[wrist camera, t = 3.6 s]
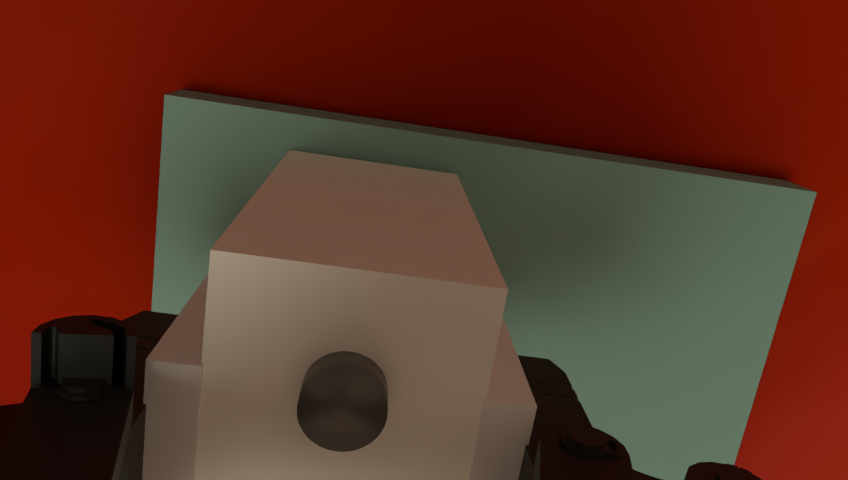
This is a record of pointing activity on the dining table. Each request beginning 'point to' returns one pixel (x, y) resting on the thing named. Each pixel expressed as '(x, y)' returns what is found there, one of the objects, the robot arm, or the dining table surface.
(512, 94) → the dining table surface
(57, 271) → the dining table surface
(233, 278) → the plug
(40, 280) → the dining table surface
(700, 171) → the board
